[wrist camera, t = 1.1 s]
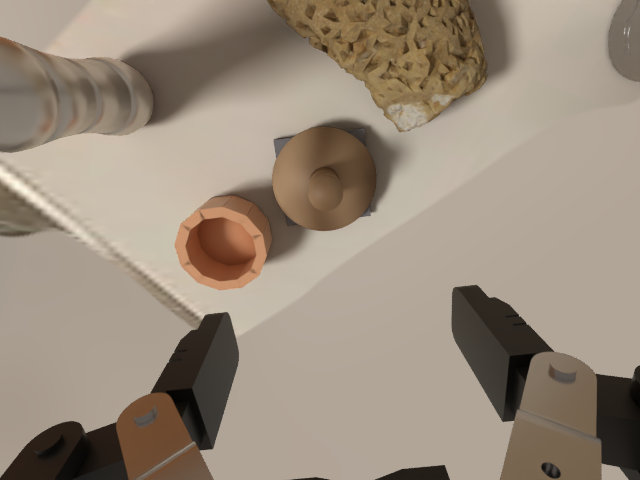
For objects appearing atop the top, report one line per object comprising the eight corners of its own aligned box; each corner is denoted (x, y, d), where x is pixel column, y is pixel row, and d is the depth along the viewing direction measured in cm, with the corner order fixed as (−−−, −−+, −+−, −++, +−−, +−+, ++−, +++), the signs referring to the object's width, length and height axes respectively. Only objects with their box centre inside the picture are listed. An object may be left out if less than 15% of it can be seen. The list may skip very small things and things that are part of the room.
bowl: (263, 191, 36) (256, 202, 32) (277, 265, 40) (272, 284, 36) (182, 201, 37) (165, 213, 33) (202, 273, 40) (189, 293, 36)
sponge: (477, 62, 33) (377, -199, 24) (512, 82, 27) (394, -260, 17) (362, 137, 38) (238, -54, 28) (369, 169, 32) (213, -62, 22)
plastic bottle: (172, 123, 34) (-2, 148, 15) (109, 141, 34) (-134, 184, 16) (144, 52, 32) (-102, -23, 13) (77, 71, 32) (-252, 27, 13)
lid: (370, 120, 33) (382, 123, 27) (377, 221, 37) (388, 242, 31) (265, 133, 34) (254, 140, 28) (282, 232, 37) (276, 255, 32)
